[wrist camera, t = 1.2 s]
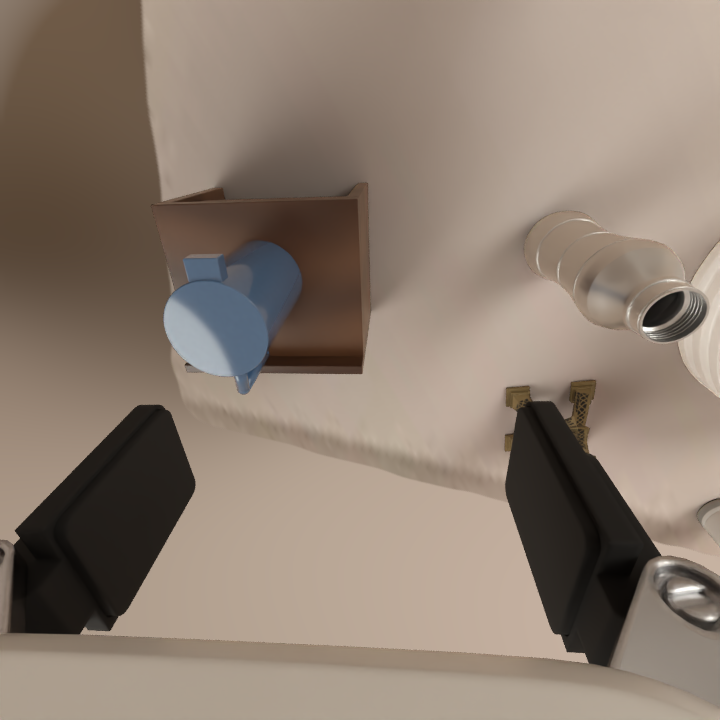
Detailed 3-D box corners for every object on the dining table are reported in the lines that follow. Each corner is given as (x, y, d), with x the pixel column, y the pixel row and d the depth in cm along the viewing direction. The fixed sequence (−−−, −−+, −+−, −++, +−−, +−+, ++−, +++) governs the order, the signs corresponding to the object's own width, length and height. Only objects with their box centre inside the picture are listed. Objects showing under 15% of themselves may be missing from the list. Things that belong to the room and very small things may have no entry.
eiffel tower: (584, 444, 53) (717, 657, 31) (504, 449, 54) (577, 655, 33) (595, 380, 48) (761, 580, 26) (506, 387, 49) (593, 583, 28)
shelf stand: (213, 187, 40) (136, 208, 28) (367, 182, 38) (355, 202, 27) (239, 313, 47) (186, 372, 35) (370, 312, 45) (362, 374, 34)
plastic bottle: (508, 230, 40) (597, 300, 22) (575, 192, 38) (731, 238, 20) (531, 282, 42) (626, 381, 25) (595, 249, 40) (749, 334, 23)
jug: (215, 225, 30) (142, 260, 21) (295, 223, 29) (254, 258, 21) (240, 342, 35) (189, 409, 26) (309, 342, 34) (281, 411, 26)
